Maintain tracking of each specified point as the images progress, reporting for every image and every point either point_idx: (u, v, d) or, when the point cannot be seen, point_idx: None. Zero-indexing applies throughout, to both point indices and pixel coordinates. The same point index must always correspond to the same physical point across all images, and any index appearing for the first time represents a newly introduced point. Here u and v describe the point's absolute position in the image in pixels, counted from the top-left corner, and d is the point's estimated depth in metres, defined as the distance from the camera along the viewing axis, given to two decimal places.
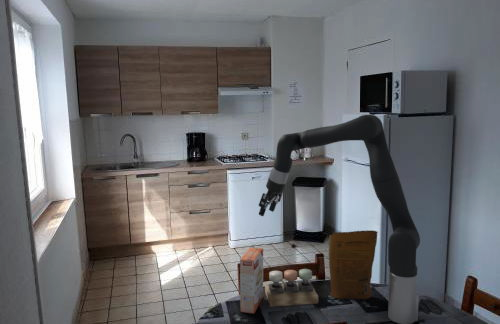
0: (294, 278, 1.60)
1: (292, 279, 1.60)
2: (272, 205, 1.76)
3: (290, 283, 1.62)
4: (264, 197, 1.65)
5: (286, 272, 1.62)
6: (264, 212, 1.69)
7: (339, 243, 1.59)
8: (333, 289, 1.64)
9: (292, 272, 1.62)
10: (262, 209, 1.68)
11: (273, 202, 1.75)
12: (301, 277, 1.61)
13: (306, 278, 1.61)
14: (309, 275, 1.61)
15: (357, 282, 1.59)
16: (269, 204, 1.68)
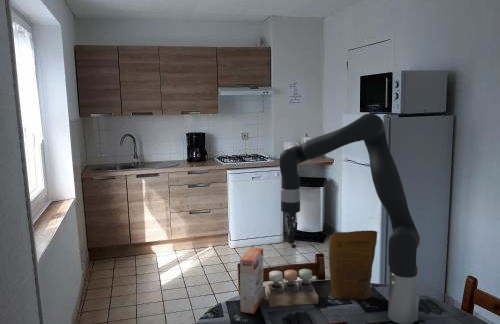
0: (294, 278, 1.60)
1: (292, 279, 1.60)
2: None
3: (290, 283, 1.62)
4: (294, 226, 1.54)
5: (286, 272, 1.62)
6: None
7: (339, 243, 1.59)
8: (333, 289, 1.64)
9: (292, 272, 1.62)
10: (292, 236, 1.58)
11: None
12: (301, 277, 1.61)
13: (306, 278, 1.61)
14: (309, 275, 1.61)
15: (357, 282, 1.59)
16: None
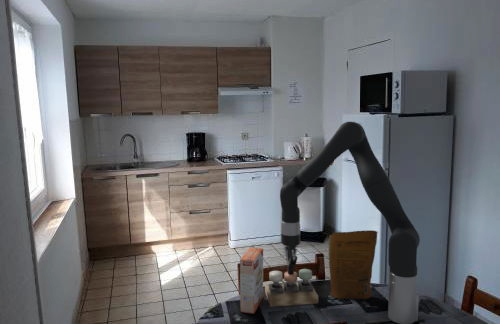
0: (294, 279, 1.60)
1: (292, 280, 1.60)
2: None
3: (290, 284, 1.62)
4: (294, 260, 1.56)
5: (286, 273, 1.62)
6: (293, 269, 1.62)
7: (339, 243, 1.59)
8: (333, 289, 1.64)
9: None
10: (291, 267, 1.61)
11: None
12: (301, 277, 1.61)
13: (306, 278, 1.61)
14: (309, 275, 1.61)
15: (357, 282, 1.59)
16: None
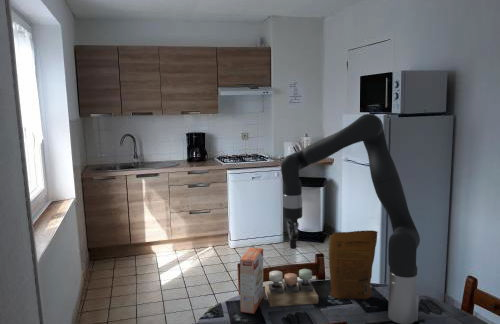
0: (294, 281, 1.61)
1: (292, 282, 1.60)
2: None
3: (290, 286, 1.62)
4: (296, 233, 1.54)
5: (286, 275, 1.63)
6: (295, 243, 1.60)
7: (339, 243, 1.59)
8: (333, 289, 1.64)
9: (292, 275, 1.62)
10: (294, 241, 1.59)
11: None
12: (301, 277, 1.61)
13: (306, 278, 1.61)
14: (309, 275, 1.61)
15: (357, 282, 1.59)
16: None
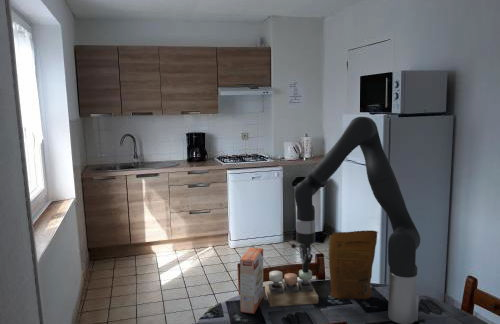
0: (294, 281, 1.61)
1: (292, 282, 1.60)
2: None
3: (290, 286, 1.62)
4: (309, 258, 1.57)
5: (286, 275, 1.63)
6: None
7: (339, 243, 1.59)
8: (333, 289, 1.64)
9: (292, 275, 1.62)
10: (306, 265, 1.62)
11: None
12: (301, 277, 1.61)
13: (306, 278, 1.61)
14: (309, 275, 1.61)
15: (357, 282, 1.59)
16: None
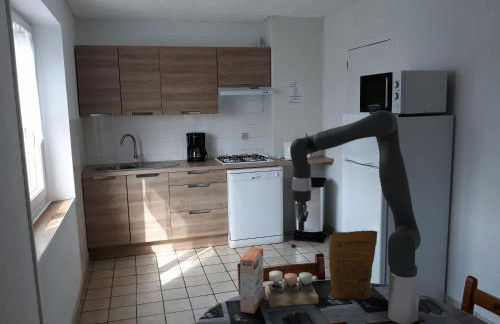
0: (294, 281, 1.61)
1: (292, 282, 1.60)
2: None
3: (290, 286, 1.62)
4: (305, 215, 1.56)
5: (286, 275, 1.63)
6: None
7: (339, 243, 1.59)
8: (333, 289, 1.64)
9: (292, 275, 1.62)
10: (302, 224, 1.61)
11: None
12: (301, 280, 1.62)
13: (306, 281, 1.61)
14: (309, 278, 1.61)
15: (357, 282, 1.59)
16: None
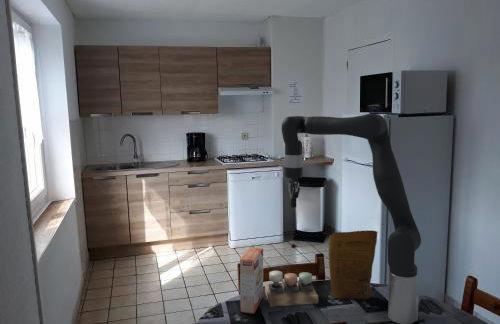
0: (294, 281, 1.61)
1: (292, 282, 1.60)
2: None
3: (290, 286, 1.62)
4: (296, 191, 1.61)
5: (286, 275, 1.63)
6: None
7: (339, 243, 1.59)
8: (333, 289, 1.64)
9: (292, 275, 1.62)
10: (294, 200, 1.66)
11: None
12: (301, 280, 1.62)
13: (306, 281, 1.61)
14: (309, 278, 1.61)
15: (357, 282, 1.59)
16: None
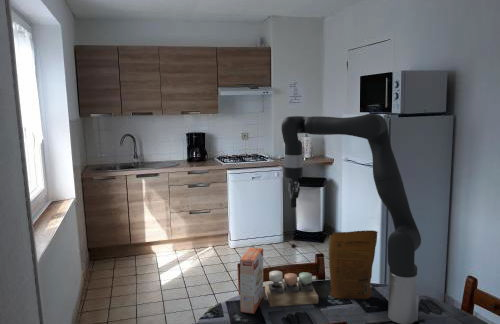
0: (294, 281, 1.61)
1: (292, 282, 1.60)
2: None
3: (290, 286, 1.62)
4: (296, 191, 1.61)
5: (286, 275, 1.63)
6: None
7: (339, 243, 1.59)
8: (333, 289, 1.64)
9: (292, 275, 1.62)
10: (294, 200, 1.66)
11: None
12: (301, 280, 1.62)
13: (306, 281, 1.61)
14: (309, 278, 1.61)
15: (357, 282, 1.59)
16: None
